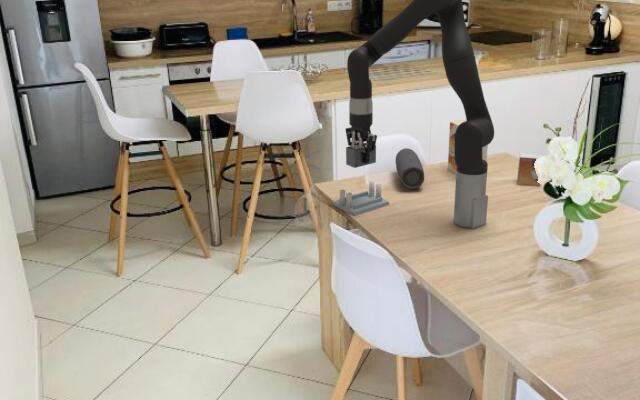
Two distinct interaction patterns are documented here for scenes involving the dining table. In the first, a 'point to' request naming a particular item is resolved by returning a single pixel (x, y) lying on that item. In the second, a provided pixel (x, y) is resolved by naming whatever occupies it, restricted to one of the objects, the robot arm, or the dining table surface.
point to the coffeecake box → (451, 159)
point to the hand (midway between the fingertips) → (360, 160)
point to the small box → (527, 169)
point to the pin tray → (361, 200)
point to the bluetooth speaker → (409, 168)
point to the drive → (358, 156)
